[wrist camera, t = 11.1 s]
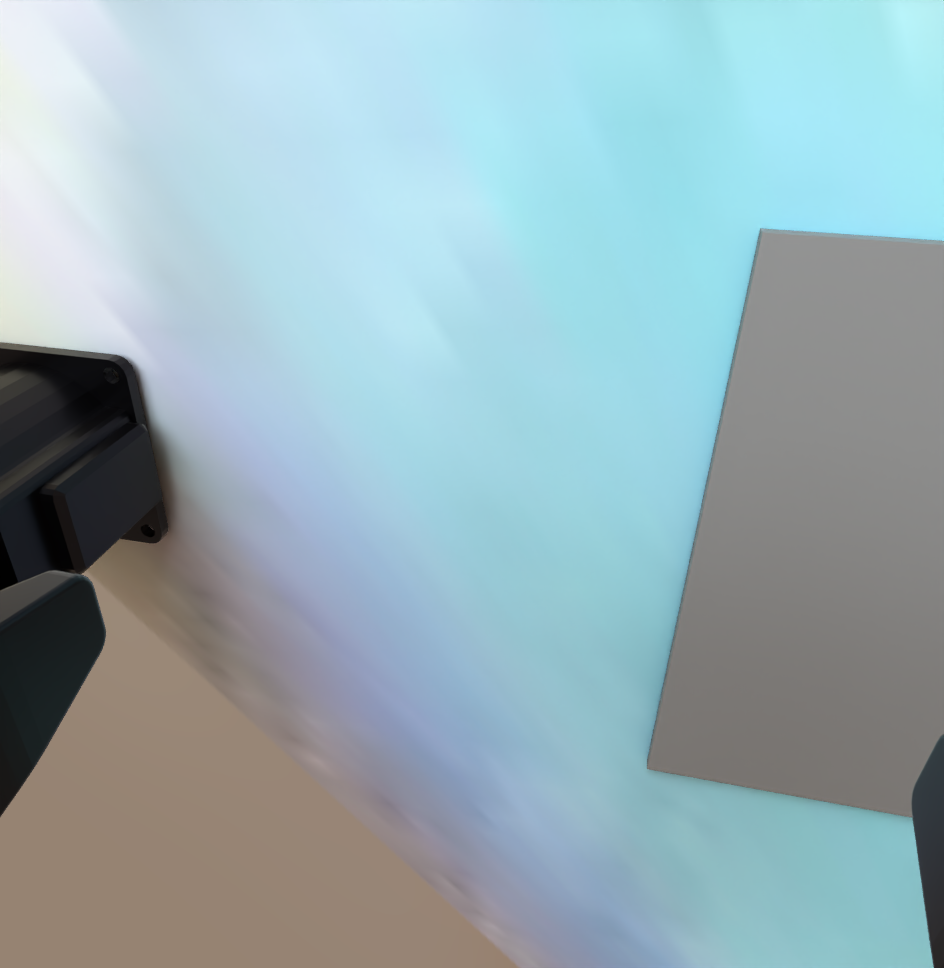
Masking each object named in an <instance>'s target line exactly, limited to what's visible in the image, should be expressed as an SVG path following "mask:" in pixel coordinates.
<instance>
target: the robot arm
mask: <svg viewBox="0 0 944 968" xmlns="http://www.w3.org/2000/svg"><path fill="white" fill-rule="evenodd" d="M112 369H114V370H115V371H116V372H117V373H118V375H119V378H117V377H116V376H115V375H114V374H113V372H112ZM149 526H151V527H152V528H153V529H154V530H153V529H151V528H150V527H149ZM167 532H168V523H167V518H166V514H165V509H164V505H163V500H162V492H161V488H160V483H159V478H158V474H157V469H156V465H155V460H154V455H153V451H152V446H151V442H150V437H149V433H148V431H147V427H146V422H145V417H144V413H143V408H142V404H141V399H140V394H139V390H138V385H137V381H136V376H135V372H134V369H133V367H132V365H131V364H130V363H129V362H128V361H127V360H126V359H124V358H123V357H121V356H118V355H112V354H103V353H93V352H84V351H75V350H66V349H56V348H47V347H38V346H29V345H19V344H10V343H1V342H0V817H1V815H2V814H3V813H4V811H5V810H6V808H7V807H8V805H9V804H10V802H11V801H12V800H13V798H14V797H15V796H16V794H17V792H18V791H19V790H20V788H21V786H22V785H23V784H24V782H25V781H26V779H27V778H28V776H29V775H30V773H31V772H32V770H33V769H34V767H35V766H36V764H37V762H38V761H39V759H40V757H41V756H42V754H43V752H44V751H45V749H46V748H47V746H48V744H49V742H50V740H51V739H52V737H53V735H54V734H55V732H56V730H57V728H58V727H59V725H60V723H61V721H62V720H63V718H64V716H65V714H66V713H67V711H68V709H69V707H70V706H71V704H72V702H73V700H74V699H75V697H76V695H77V693H78V692H79V690H80V688H81V686H82V684H83V683H84V681H85V679H86V677H87V676H88V674H89V672H90V671H91V668H92V667H93V665H94V664H95V661H96V660H97V658H98V657H99V655H100V653H101V651H102V649H103V646H104V642H105V637H106V629H105V625H104V622H103V618H102V614H101V611H100V607H99V603H98V600H97V597H96V593H95V589H94V586H93V584H92V582H91V581H90V580H89V578H88V577H86V576H84V575H81V574H82V573H84V572H85V571H86V570H87V569H88V568H89V567H90V566H91V565H92V564H93V563H94V562H96V561H97V560H98V559H99V558H100V557H101V556H102V555H103V554H104V553H105V552H106V551H107V550H108V549H109V548H110V547H111V546H112V545H114V544H115V543H116V542H117V541H118V540H119V539H126V540H132V541H139V542H146V543H157V542H159V541H160V540H161V539H162V538H163V537H164V536H165V535H166V534H167ZM911 808H912V817H913V824H914V832H915V839H916V846H917V853H918V861H919V868H920V875H921V882H922V889H923V897H924V904H925V911H926V918H927V926H928V933H929V940H930V947H931V953H932V959H933V965H934V968H944V734H943V735H942V736H940V738H939V739H938V741H937V742H936V744H935V746H934V748H933V750H932V752H931V754H930V756H929V758H928V760H927V762H926V764H925V766H924V767H923V769H922V771H921V773H920V775H919V777H918V779H917V781H916V783H915V786H914V789H913V793H912V800H911Z"/></svg>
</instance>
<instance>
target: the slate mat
mask: <svg viewBox="0 0 944 968" xmlns="http://www.w3.org/2000/svg"><path fill="white" fill-rule="evenodd" d="M943 734H944V241H936V240H921V239H907V238H892V237H877V236H862V235H848V234H833V233H818V232H804V231H789V230H774V229H760V233H759V238H758V242H757V247H756V252H755V256H754V261H753V266H752V271H751V275H750V280H749V285H748V289H747V294H746V299H745V303H744V308H743V313H742V318H741V322H740V327H739V332H738V336H737V341H736V346H735V350H734V355H733V360H732V364H731V369H730V374H729V379H728V383H727V388H726V393H725V397H724V402H723V407H722V411H721V416H720V421H719V425H718V430H717V435H716V440H715V444H714V449H713V454H712V458H711V463H710V468H709V472H708V477H707V482H706V487H705V491H704V496H703V501H702V505H701V510H700V515H699V519H698V524H697V529H696V533H695V538H694V543H693V548H692V552H691V557H690V562H689V566H688V571H687V576H686V580H685V585H684V590H683V594H682V599H681V604H680V609H679V613H678V618H677V623H676V627H675V632H674V637H673V641H672V646H671V651H670V656H669V660H668V665H667V670H666V674H665V679H664V684H663V688H662V693H661V698H660V702H659V707H658V712H657V717H656V721H655V726H654V731H653V735H652V740H651V745H650V749H649V754H648V759H647V769H650V770H655V771H661V772H666V773H672V774H677V775H683V776H688V777H694V778H699V779H704V780H710V781H715V782H721V783H726V784H732V785H737V786H743V787H748V788H754V789H759V790H765V791H770V792H776V793H781V794H786V795H792V796H797V797H803V798H808V799H814V800H819V801H825V802H830V803H836V804H841V805H847V806H852V807H858V808H863V809H869V810H874V811H879V812H885V813H890V814H896V815H901V816H907V817H912V808H911V800H912V793H913V789H914V786H915V783H916V781H917V779H918V777H919V775H920V773H921V771H922V769H923V767H924V766H925V764H926V762H927V760H928V758H929V756H930V754H931V752H932V750H933V748H934V746H935V744H936V742H937V741H938V739H939V738H940V736H942V735H943ZM912 818H913V817H912Z"/></svg>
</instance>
